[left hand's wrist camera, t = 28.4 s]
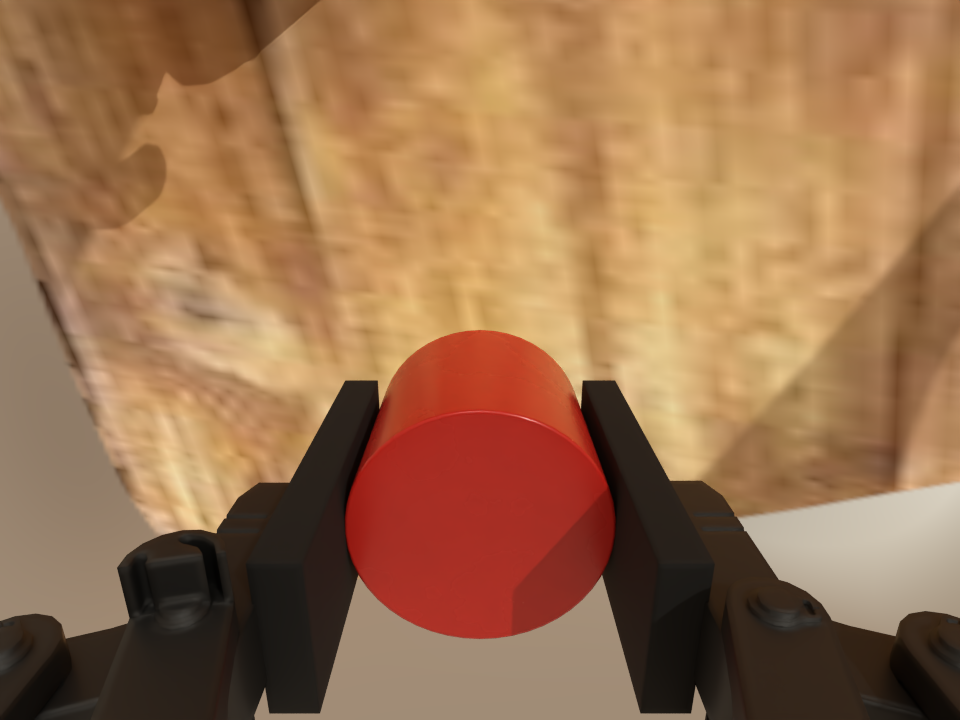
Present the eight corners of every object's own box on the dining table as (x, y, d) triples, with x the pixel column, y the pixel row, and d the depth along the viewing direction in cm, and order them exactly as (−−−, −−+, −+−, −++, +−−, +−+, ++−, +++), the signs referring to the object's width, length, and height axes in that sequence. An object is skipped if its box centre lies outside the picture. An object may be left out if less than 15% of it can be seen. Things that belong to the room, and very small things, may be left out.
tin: (355, 357, 14) (304, 448, 10) (555, 307, 14) (587, 380, 10) (414, 525, 16) (391, 661, 12) (595, 484, 16) (638, 611, 11)
